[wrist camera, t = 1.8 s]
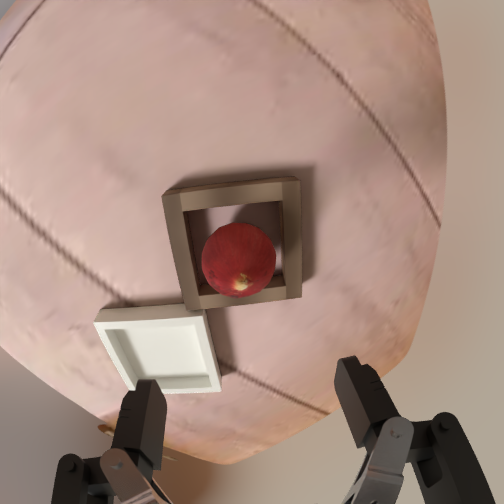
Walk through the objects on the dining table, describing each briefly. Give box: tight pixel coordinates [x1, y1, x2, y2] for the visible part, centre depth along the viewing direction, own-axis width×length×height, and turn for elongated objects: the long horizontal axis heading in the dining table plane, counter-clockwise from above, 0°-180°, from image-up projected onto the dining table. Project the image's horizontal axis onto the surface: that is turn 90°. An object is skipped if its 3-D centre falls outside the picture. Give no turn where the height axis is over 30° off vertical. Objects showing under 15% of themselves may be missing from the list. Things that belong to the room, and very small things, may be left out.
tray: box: [93, 303, 222, 394], centre depth 29 cm, size 12×12×2 cm
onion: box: [202, 223, 276, 299], centre depth 22 cm, size 6×6×8 cm
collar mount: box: [161, 177, 302, 311], centre depth 24 cm, size 11×11×2 cm
